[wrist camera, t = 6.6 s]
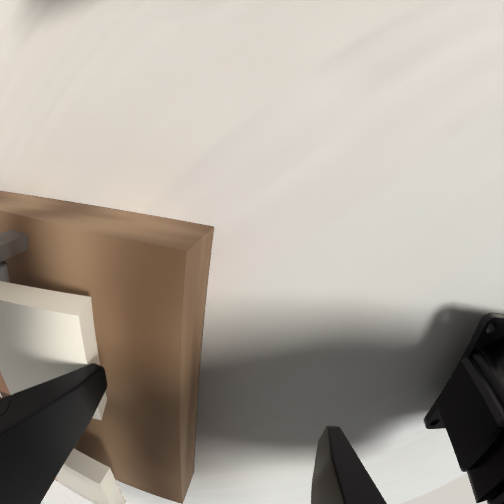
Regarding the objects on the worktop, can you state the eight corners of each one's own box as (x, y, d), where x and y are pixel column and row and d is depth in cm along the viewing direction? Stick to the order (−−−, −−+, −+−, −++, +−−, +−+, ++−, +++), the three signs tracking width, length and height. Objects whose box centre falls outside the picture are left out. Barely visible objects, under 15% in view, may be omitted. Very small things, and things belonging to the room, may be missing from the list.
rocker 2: (116, 451, 11) (97, 480, 9) (132, 493, 13) (119, 517, 11) (1, 380, 12) (-19, 398, 10) (28, 434, 14) (14, 451, 12)
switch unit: (214, 226, 11) (157, 278, 7) (193, 472, 17) (174, 525, 13) (-15, 188, 13) (-77, 207, 8) (31, 400, 19) (1, 434, 14)
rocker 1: (98, 274, 10) (76, 304, 8) (112, 391, 11) (103, 426, 10) (-59, 249, 8) (-85, 266, 6) (-31, 351, 10) (-48, 374, 8)
